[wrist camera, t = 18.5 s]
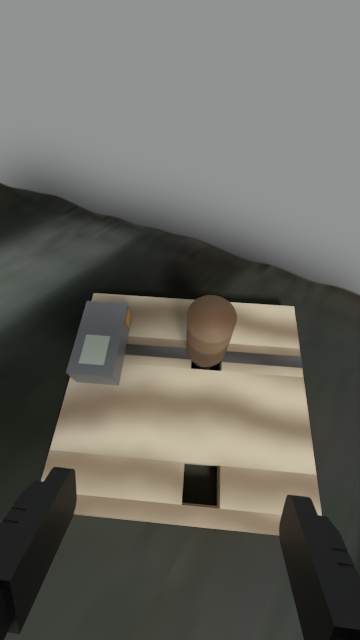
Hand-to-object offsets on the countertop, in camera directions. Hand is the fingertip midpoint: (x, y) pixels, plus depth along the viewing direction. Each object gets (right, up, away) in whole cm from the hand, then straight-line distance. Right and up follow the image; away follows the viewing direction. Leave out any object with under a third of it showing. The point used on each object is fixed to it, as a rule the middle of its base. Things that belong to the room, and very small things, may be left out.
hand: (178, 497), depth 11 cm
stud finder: (-8, +4, +20) cm, 22 cm away
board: (+1, -2, +20) cm, 20 cm away
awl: (+3, +2, +22) cm, 22 cm away
